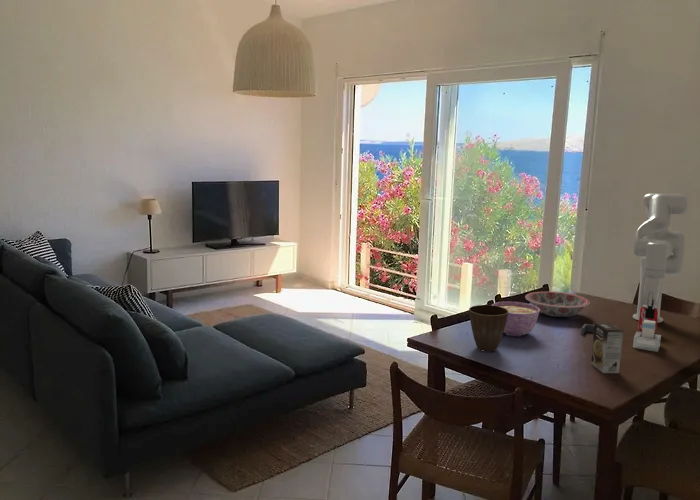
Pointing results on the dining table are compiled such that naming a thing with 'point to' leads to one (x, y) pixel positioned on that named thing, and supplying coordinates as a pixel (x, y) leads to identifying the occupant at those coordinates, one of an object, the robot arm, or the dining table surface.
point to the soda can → (642, 318)
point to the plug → (648, 329)
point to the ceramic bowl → (557, 303)
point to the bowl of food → (519, 317)
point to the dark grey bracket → (587, 328)
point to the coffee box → (607, 347)
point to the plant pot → (487, 325)
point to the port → (646, 342)
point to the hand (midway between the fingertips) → (649, 317)
